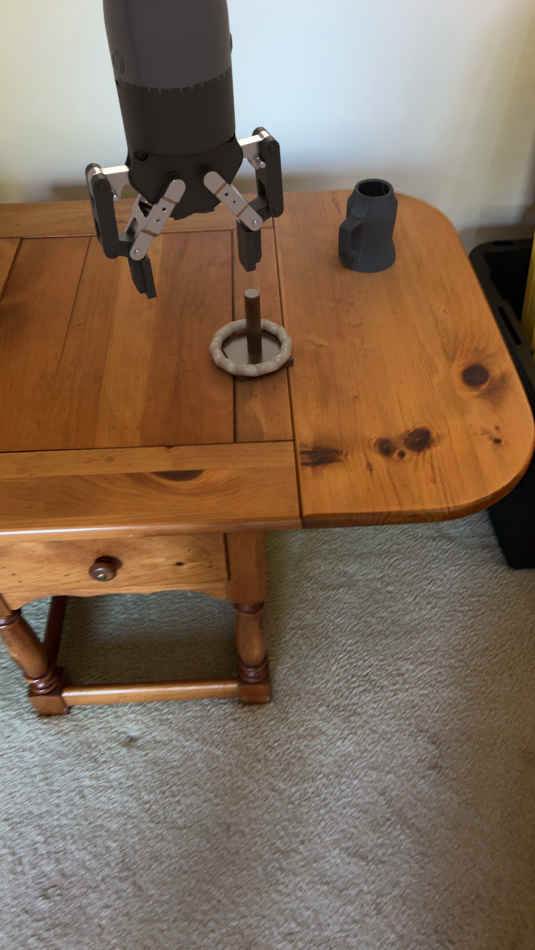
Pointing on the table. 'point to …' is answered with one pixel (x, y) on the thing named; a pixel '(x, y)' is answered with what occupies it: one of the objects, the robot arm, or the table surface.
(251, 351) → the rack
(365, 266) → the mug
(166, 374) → the table surface
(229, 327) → the ring
